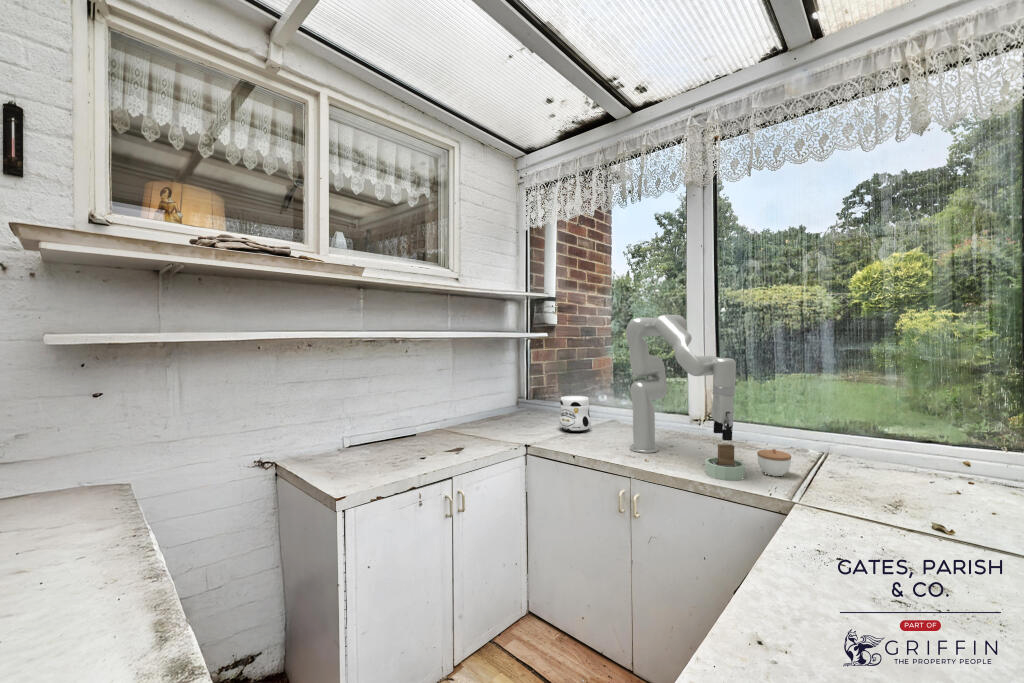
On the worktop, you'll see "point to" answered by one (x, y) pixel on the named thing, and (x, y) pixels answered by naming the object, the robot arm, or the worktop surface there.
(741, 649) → the worktop surface
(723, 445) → the brown wooden block
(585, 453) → the worktop surface
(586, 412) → the milk container
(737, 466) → the green round dish
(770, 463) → the lidded jar
